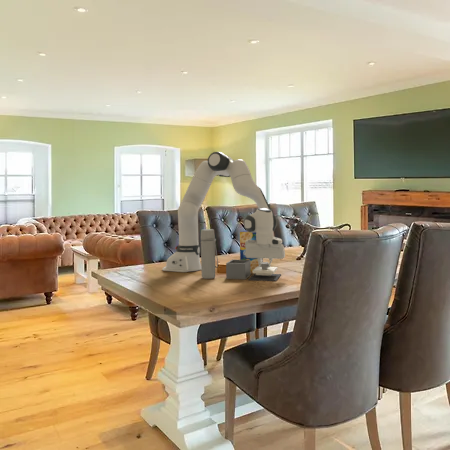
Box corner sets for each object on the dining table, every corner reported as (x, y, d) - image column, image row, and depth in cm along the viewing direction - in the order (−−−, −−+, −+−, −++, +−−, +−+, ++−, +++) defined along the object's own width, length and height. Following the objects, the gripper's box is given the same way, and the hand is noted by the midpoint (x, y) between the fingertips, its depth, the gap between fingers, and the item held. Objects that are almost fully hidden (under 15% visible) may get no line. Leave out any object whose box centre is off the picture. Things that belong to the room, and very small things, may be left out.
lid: (252, 275, 237) (252, 264, 236) (257, 270, 249) (257, 260, 248) (273, 276, 234) (273, 265, 233) (277, 271, 246) (277, 261, 246)
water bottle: (205, 279, 239) (204, 230, 237) (198, 277, 246) (197, 229, 244) (221, 278, 243) (220, 229, 241) (214, 275, 250) (213, 228, 248)
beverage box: (258, 272, 256) (258, 232, 254) (240, 271, 261) (239, 231, 259) (263, 270, 262) (262, 231, 261) (245, 269, 267) (244, 230, 265)
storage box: (226, 278, 241) (226, 263, 240) (232, 274, 252) (232, 259, 252) (245, 279, 238) (245, 263, 237) (250, 274, 250) (250, 259, 249)
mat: (248, 280, 236) (248, 279, 236) (255, 274, 251) (255, 273, 251) (276, 281, 232) (276, 280, 232) (281, 275, 247) (281, 274, 247)
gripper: (243, 240, 240) (243, 267, 241) (283, 241, 234) (283, 268, 235) (246, 239, 246) (246, 265, 247) (285, 239, 240) (285, 266, 241)
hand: (265, 267), depth 241 cm, fingers closed on lid, 2 cm apart
